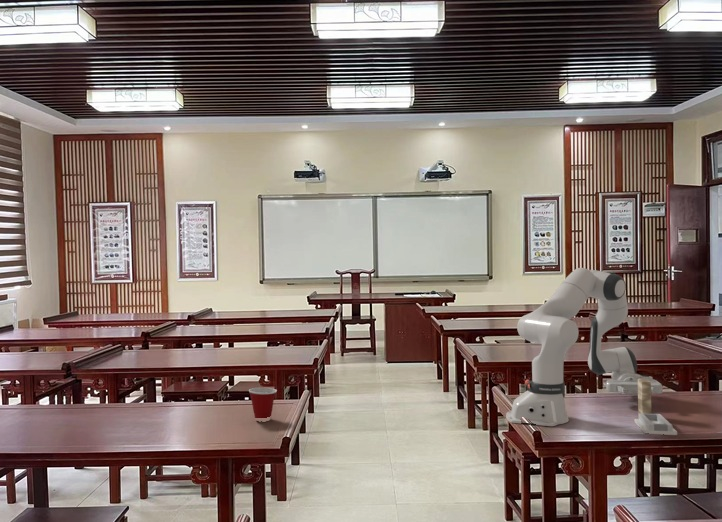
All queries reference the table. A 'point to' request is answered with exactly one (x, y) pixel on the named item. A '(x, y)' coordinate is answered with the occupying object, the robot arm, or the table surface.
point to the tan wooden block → (644, 396)
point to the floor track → (654, 424)
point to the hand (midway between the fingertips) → (638, 391)
